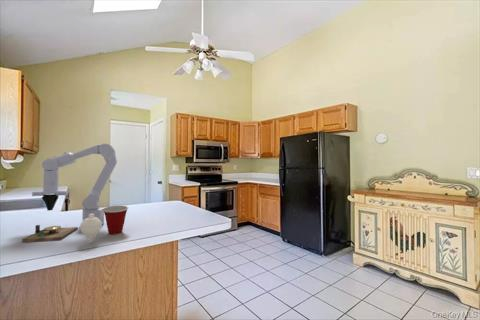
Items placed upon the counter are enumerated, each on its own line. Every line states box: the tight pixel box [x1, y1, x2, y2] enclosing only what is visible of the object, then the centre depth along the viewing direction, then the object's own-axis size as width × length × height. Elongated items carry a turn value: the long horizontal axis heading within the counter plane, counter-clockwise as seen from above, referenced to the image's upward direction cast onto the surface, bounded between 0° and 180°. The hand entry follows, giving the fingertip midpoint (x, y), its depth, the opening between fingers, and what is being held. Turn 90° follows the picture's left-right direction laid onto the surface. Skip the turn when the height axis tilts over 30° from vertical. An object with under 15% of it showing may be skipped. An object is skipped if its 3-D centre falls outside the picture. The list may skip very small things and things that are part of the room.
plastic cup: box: [102, 205, 129, 235], centre depth 111 cm, size 11×11×12 cm
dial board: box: [21, 226, 79, 243], centre depth 106 cm, size 14×16×3 cm
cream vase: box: [79, 214, 103, 243], centre depth 97 cm, size 8×8×12 cm
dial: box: [34, 224, 62, 234], centre depth 104 cm, size 10×6×3 cm, turn 161°
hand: (50, 210), depth 115 cm, fingers closed
